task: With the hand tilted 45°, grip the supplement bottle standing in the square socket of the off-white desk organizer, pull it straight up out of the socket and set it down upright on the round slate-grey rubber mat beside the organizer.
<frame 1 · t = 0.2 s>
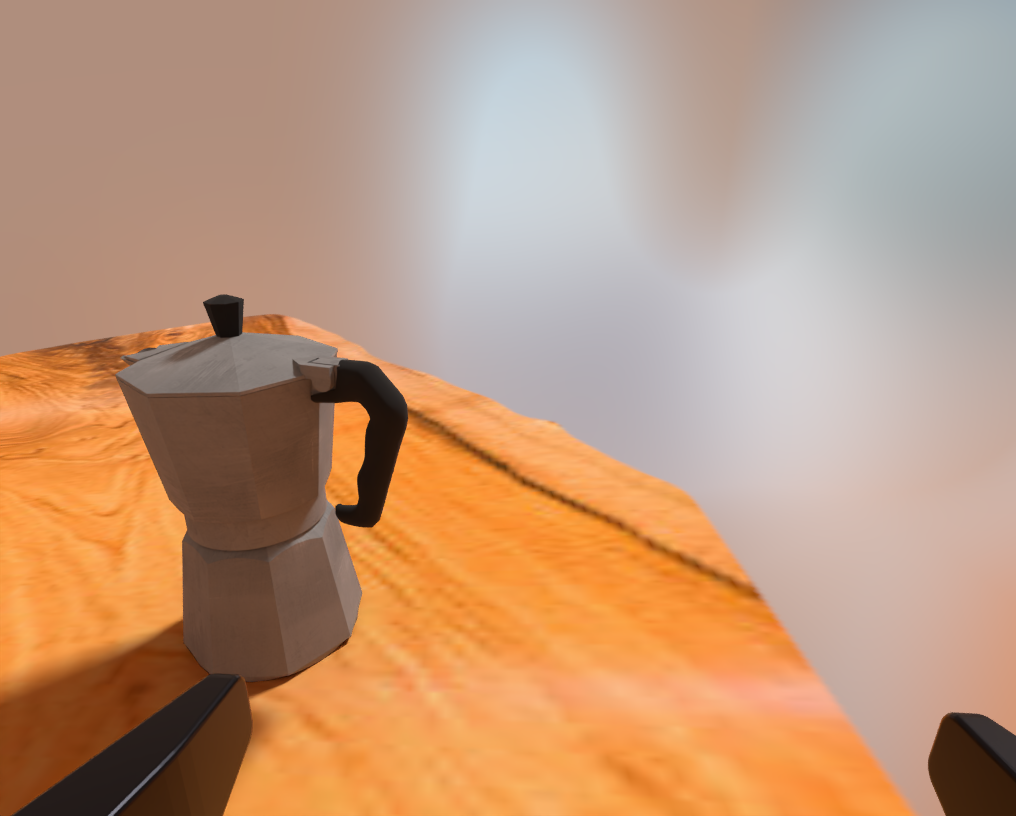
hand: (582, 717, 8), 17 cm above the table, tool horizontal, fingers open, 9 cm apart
coffeepot: (295, 628, 33), on the table
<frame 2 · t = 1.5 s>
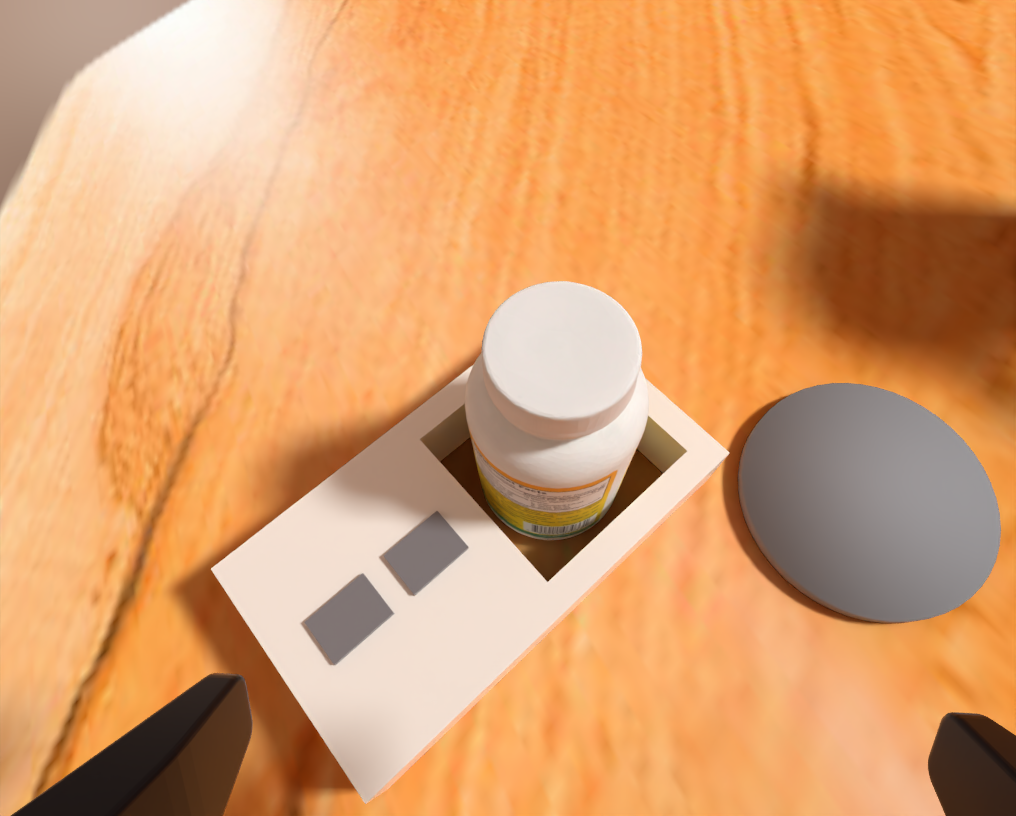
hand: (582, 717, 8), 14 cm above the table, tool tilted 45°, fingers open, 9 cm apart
mat: (860, 496, 23), on the table
desk organizer: (549, 473, 24), on the table
supplement bottle: (549, 475, 24), resting in desk organizer
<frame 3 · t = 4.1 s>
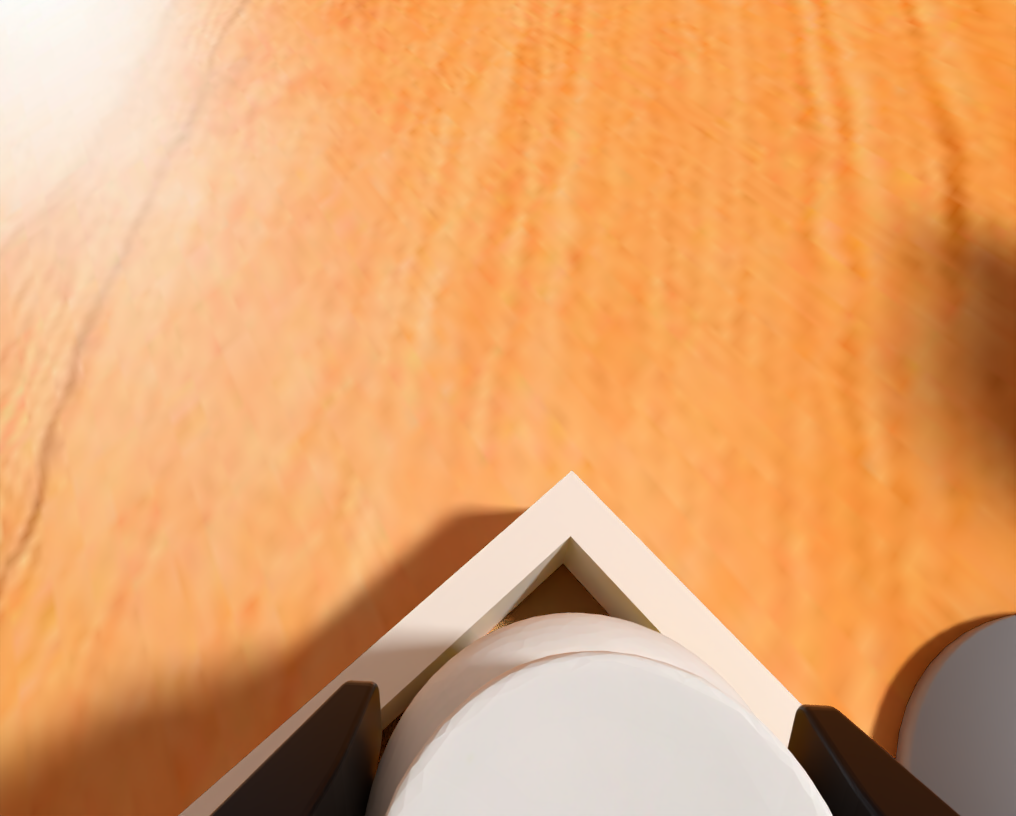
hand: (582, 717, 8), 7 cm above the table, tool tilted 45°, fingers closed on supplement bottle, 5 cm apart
desk organizer: (557, 776, 13), on the table
supplement bottle: (556, 775, 14), resting in desk organizer, touching gripper
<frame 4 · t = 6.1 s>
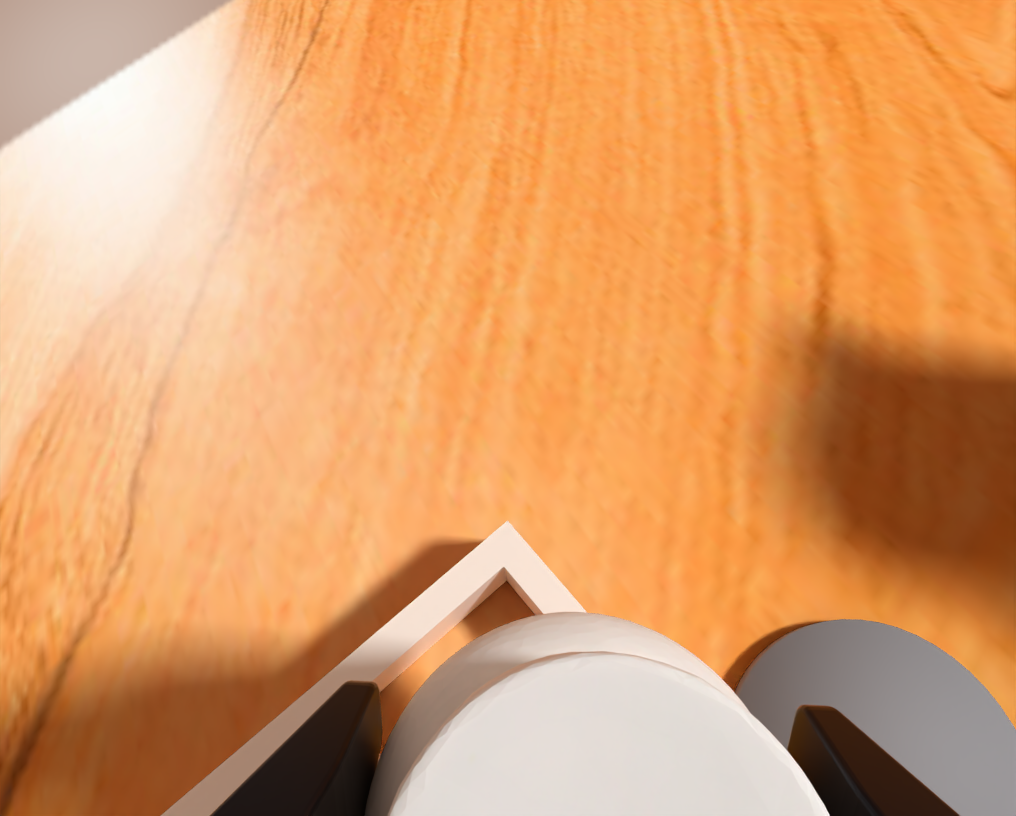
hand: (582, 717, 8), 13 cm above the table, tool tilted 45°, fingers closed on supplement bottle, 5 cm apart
mat: (872, 775, 19), on the table
desk organizer: (495, 727, 20), on the table
supplement bottle: (552, 771, 14), point 6 cm above the table, touching gripper
when the fingers open (8 cm above the table, at t = 8.1 s): supplement bottle stays where it is, resting on mat.
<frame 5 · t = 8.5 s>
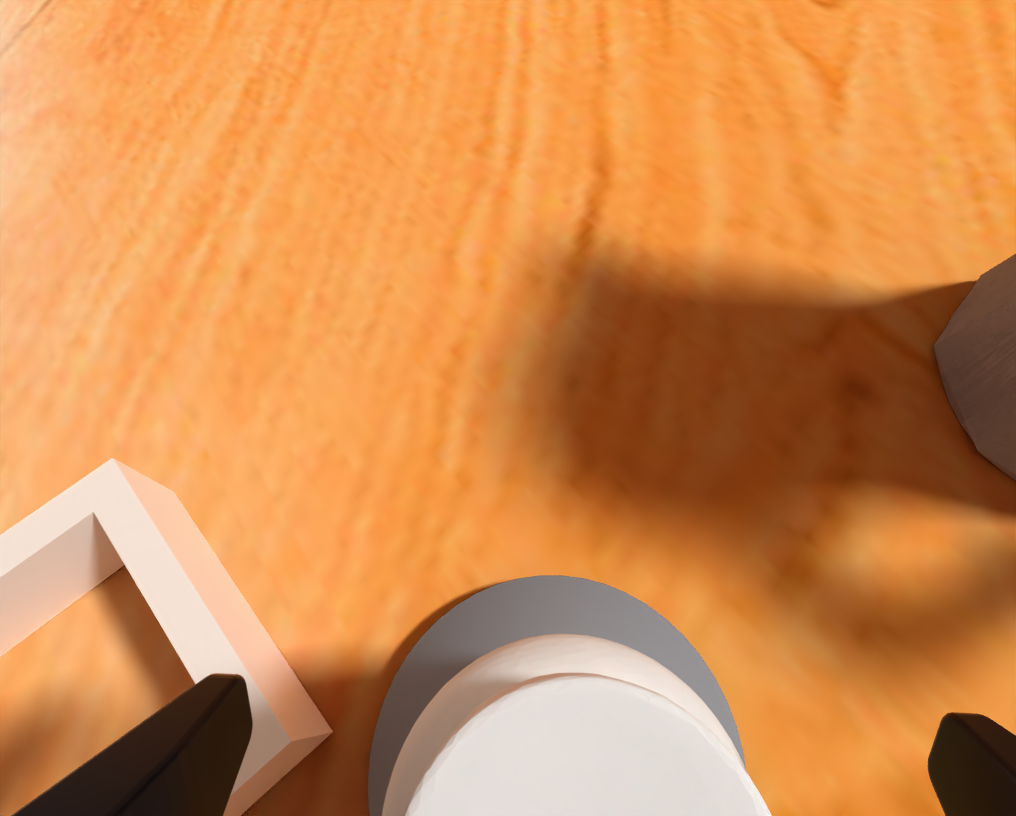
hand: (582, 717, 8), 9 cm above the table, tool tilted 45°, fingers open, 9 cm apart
mat: (554, 765, 15), on the table
desk organizer: (106, 714, 16), on the table
supplement bottle: (552, 775, 15), resting on mat
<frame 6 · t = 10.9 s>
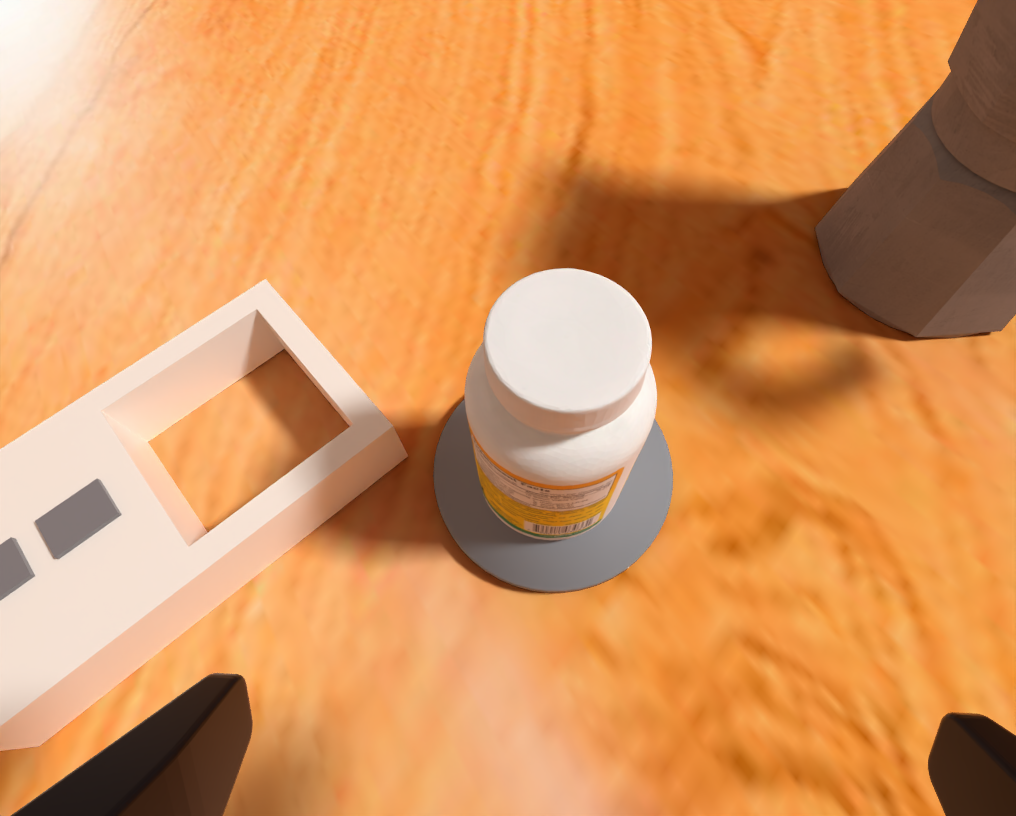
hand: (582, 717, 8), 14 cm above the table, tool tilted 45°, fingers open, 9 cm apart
mat: (551, 472, 24), on the table
desk organizer: (259, 448, 24), on the table
supplement bottle: (550, 473, 23), resting on mat
coffeepot: (932, 276, 27), on the table
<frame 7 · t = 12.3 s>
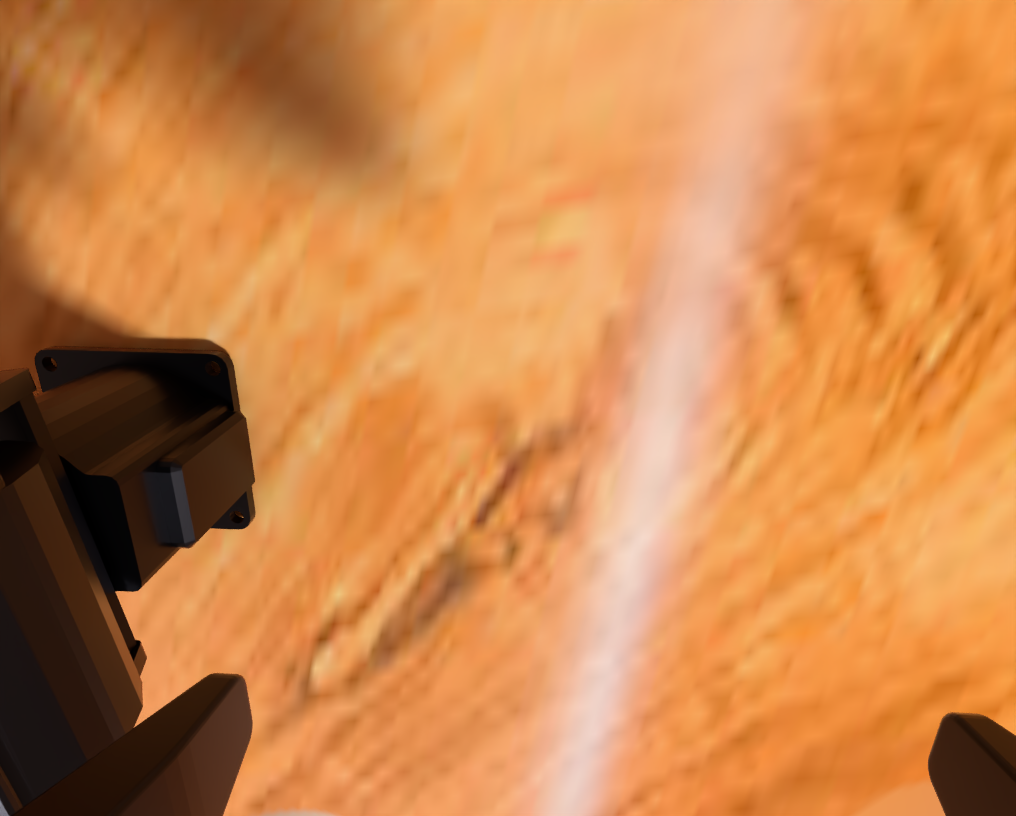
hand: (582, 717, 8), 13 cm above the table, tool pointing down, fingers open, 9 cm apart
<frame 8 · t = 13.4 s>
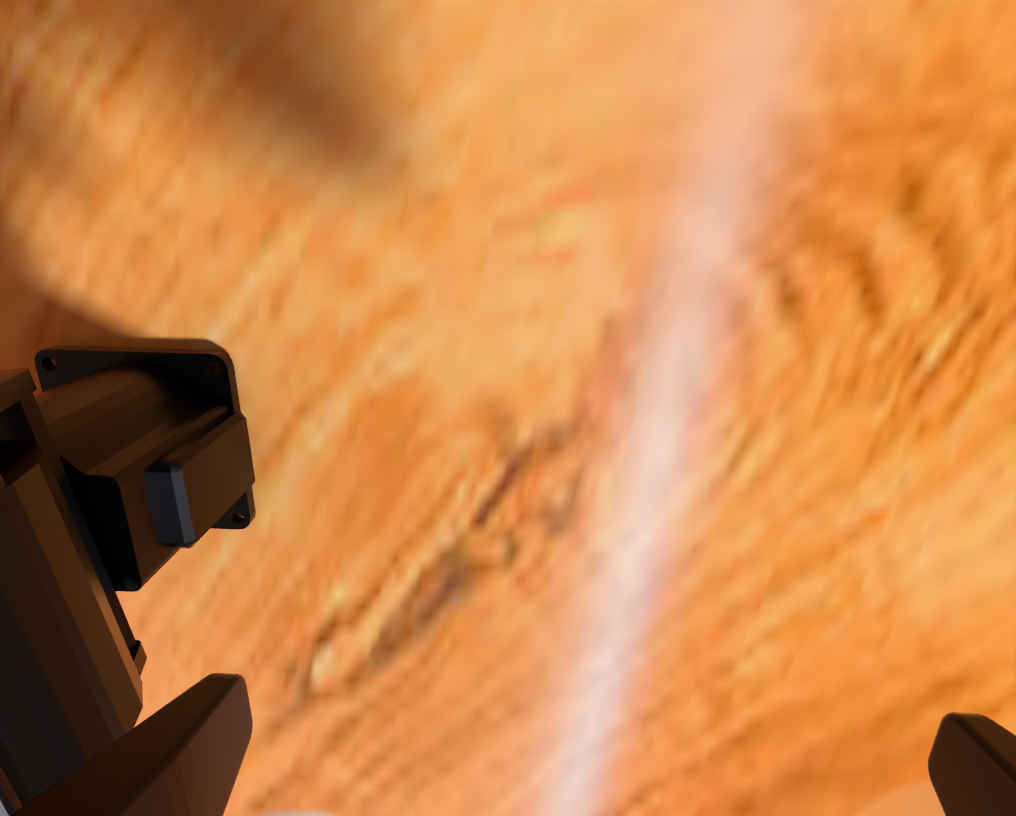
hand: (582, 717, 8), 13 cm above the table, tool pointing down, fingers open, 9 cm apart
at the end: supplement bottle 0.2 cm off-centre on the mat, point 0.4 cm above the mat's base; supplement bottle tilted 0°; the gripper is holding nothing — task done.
